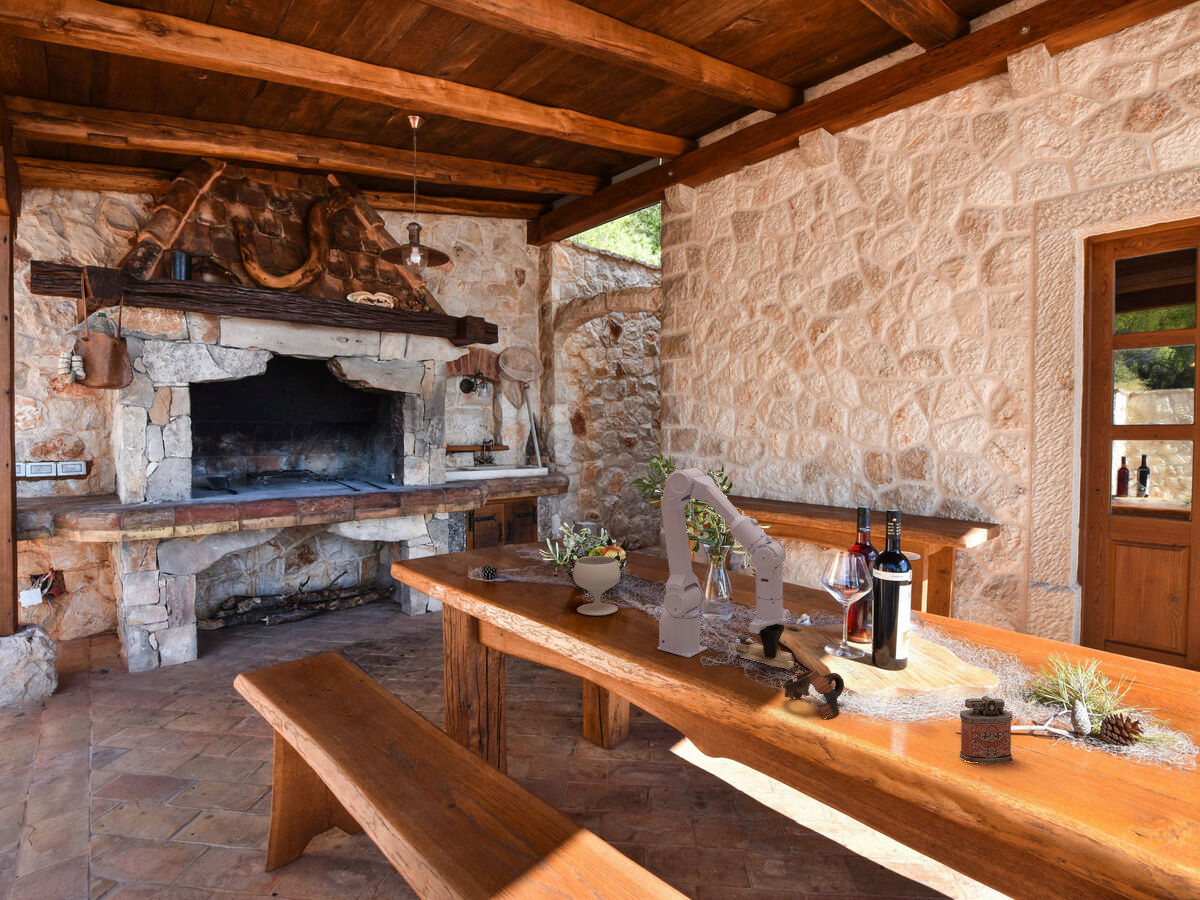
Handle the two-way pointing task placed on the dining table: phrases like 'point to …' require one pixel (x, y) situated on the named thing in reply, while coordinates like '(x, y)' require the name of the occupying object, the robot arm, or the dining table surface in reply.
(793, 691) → the dark brown angled piece
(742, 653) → the tongs base
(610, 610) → the chalice
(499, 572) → the dining table surface
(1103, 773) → the dining table surface
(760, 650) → the bar
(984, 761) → the lighter
